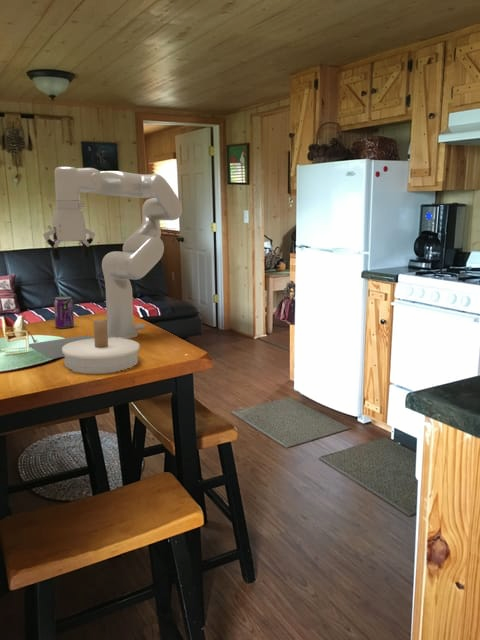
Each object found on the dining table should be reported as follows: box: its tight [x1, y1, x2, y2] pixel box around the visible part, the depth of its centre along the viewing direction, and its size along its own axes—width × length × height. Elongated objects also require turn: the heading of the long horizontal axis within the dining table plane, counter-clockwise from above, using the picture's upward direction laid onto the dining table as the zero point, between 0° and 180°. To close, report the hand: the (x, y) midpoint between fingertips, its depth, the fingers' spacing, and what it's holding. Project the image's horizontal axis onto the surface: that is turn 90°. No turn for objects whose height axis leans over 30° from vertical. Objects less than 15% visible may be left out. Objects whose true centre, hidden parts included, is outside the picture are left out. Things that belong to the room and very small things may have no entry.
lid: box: [62, 318, 140, 359], centre depth 167 cm, size 23×23×9 cm
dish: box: [63, 351, 139, 375], centre depth 168 cm, size 22×22×5 cm
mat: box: [28, 335, 94, 360], centre depth 187 cm, size 23×23×1 cm
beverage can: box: [53, 296, 75, 329], centre depth 218 cm, size 7×7×12 cm
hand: (71, 259), depth 181 cm, fingers open, 9 cm apart
